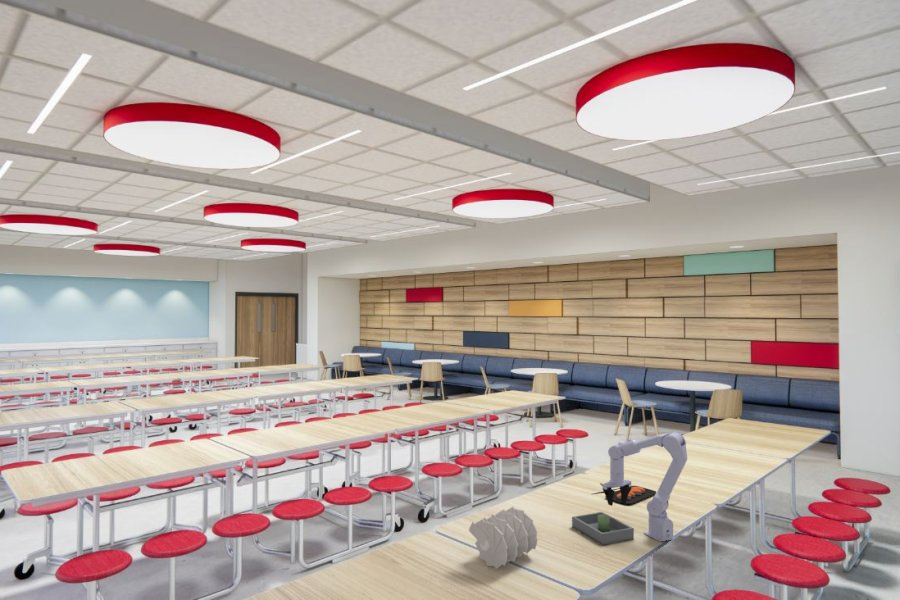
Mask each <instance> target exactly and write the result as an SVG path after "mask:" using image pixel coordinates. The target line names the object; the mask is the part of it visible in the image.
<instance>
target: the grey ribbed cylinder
mask: <svg viewBox="0 0 900 600" xmlns="http://www.w3.org/2000/svg"><path fill="white" fill-rule="evenodd" d="M469 526H470V527H469V529H468V531H469V533H470V534H471V535H472V536H473V537H474V538H475V539H476V541H475V543H474V544H475V546H476V548H477V550H478V552H479V555H478V557H479V558H480V559H482V560H483V561H484V562H485V563H486V566H487V567H494V568H495V570H498V569H499V568H500V567H501V566H506V565H507V564H508V563H510V562H511V561H512V562H515V561H516V558H520V557H521V556H522V555H523V554H524V553H525V554H528V553H530V551H532V550H536V547H537V545H538V532H539V531H538V530H537V528H536V526H535V524H534V519H533V518H532V517H530V516H529V514H527V513H526V512H525V510H524V509H523V510H522V509H518V508H515V507H514V506H512V507H510V508H508V509H507V510H506V509H505V508H504V509H502V510H500V511H499V512H497V513H496V514H494V513H492V514H491V517H487V516H484V518H482V519H481V520H479V521H477V522H474V521H472V522H471V524H470V525H469Z"/></svg>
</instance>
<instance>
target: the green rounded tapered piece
mask: <svg viewBox="0 0 900 600" xmlns="http://www.w3.org/2000/svg"><path fill="white" fill-rule="evenodd" d="M605 514H606V513H605ZM605 514H599V515H598V530H599V531H600V532H602V533H605V532H610V523H609V516H610V515H609V514H607V515H605ZM608 515H609V516H608Z"/></svg>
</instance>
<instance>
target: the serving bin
mask: <svg viewBox="0 0 900 600" xmlns="http://www.w3.org/2000/svg"><path fill="white" fill-rule="evenodd" d="M599 514H605V515H608V516H609V523H610V532H605V533H602V532H600V531H599V530H598V515H599ZM571 528H573V529H574V530H576V531H577V532H579V533H581V534H583V535H584V536H586V537H588V538H589V539H591V540H593V541H594V542H595V543H597V544H599V545H601V546H607V545H613V544H616V543H622V542H626V541H632V539H633V540H634V539H635V538H634V537H635V536H634V535H635V534H634V533H635V531H634V530H635V528H634V527H632V526H630V525H629V524H626V523H625V522H623V521H620V520H619V519H616V518H614V517H612V516H610V515H609V514H607V513H605V512H603V511H598V512H592V513H586V514H580V515H574V516H572V517H571Z"/></svg>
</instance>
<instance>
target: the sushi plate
mask: <svg viewBox="0 0 900 600" xmlns="http://www.w3.org/2000/svg"><path fill="white" fill-rule="evenodd" d="M599 484H600V485H601V487H603V483H602V482H601V483H599ZM630 487H631V491H630V492H629V494H628V497H627V501H626V503H623V502H622V501H621V491H620V487H617V488H612V490H613V491H615V492H614V495H613V502H614V501H615V502H617V503H621V504H625V505H632V504H634V503H637V502H639V501H642V500H644V499H646V498H649V497H651V496H655V494H656V493H657V491H656V490H653V489H649V488H646V487H644V486H640V485H639V486H638V485H631V486H630ZM597 494H605V493H604V491H603V490H602V491H599V492H594V493H592V495H597ZM604 497H605V498H606V495H604Z"/></svg>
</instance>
